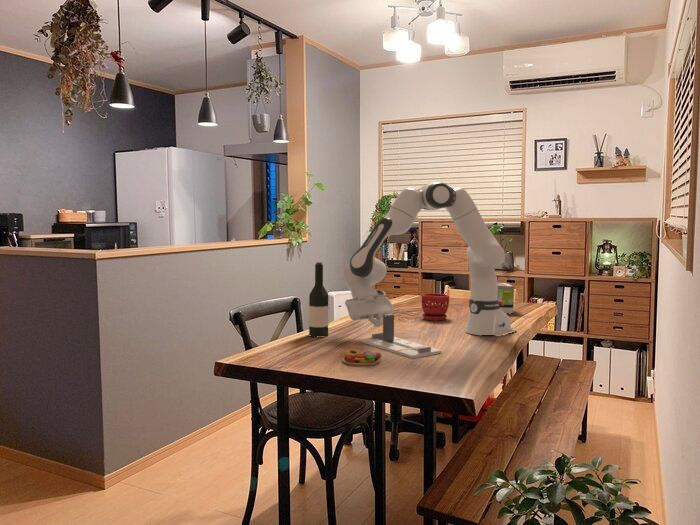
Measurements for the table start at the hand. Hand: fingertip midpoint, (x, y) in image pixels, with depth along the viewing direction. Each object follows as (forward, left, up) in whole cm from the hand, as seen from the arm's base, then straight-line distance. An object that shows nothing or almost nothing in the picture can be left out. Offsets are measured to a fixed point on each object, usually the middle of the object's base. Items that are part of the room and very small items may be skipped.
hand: (379, 325), depth 220 cm
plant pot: (-52, -24, -6) cm, 58 cm away
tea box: (-95, -21, -6) cm, 97 cm away
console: (0, +13, -6) cm, 14 cm away
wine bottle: (+15, -21, -6) cm, 27 cm away
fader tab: (0, +6, -5) cm, 8 cm away
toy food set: (+24, +22, -7) cm, 33 cm away
